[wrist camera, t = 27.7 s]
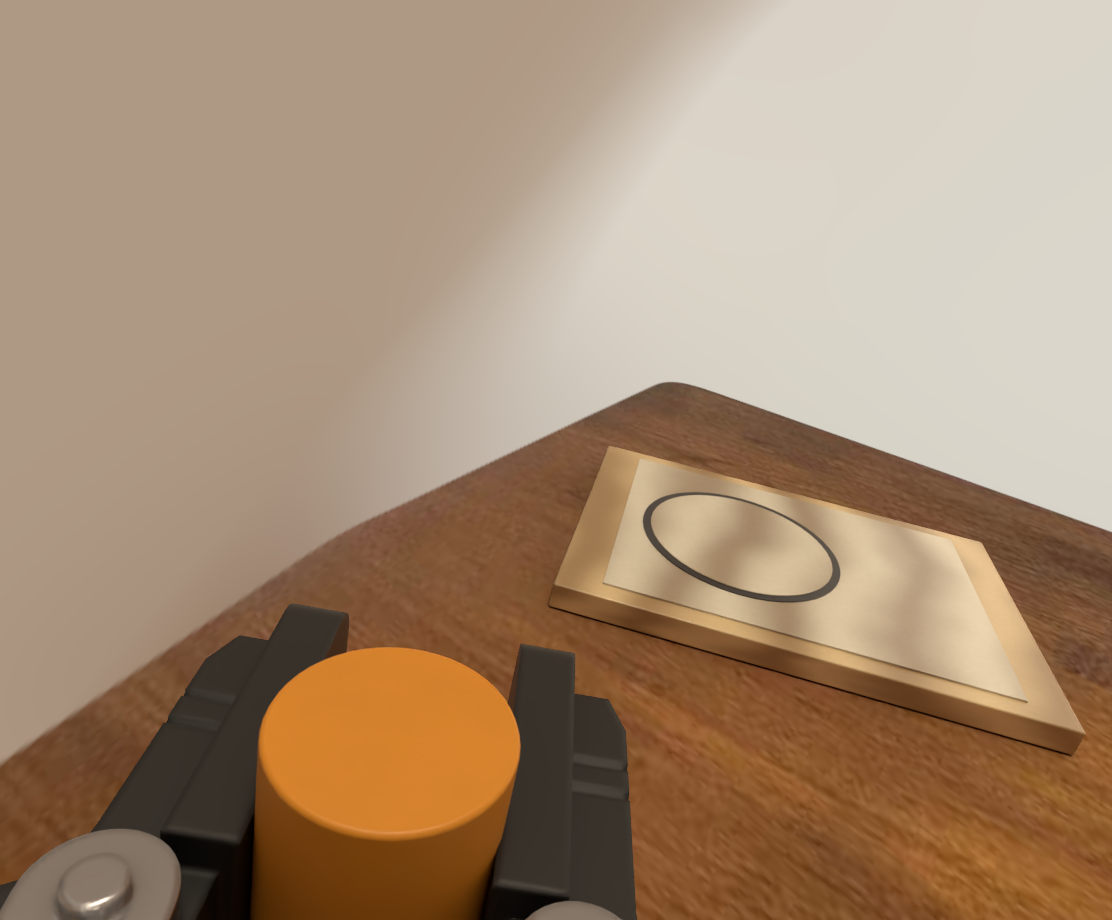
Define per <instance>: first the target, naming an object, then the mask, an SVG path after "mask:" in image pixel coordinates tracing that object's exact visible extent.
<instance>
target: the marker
mask: <svg viewBox="0 0 1112 920" xmlns="http://www.w3.org/2000/svg"><path fill="white" fill-rule="evenodd" d="M520 750H521V743H520V734H519V730H518V726H517V723H516V720H515V717H514V715H513V713H512V711H511V708H510V707H509V705H508V704H507V702H506V700H505V699H504V697H503V696H502V695H501V694H500V693H499V691H498V690H497V689H496V688H495V687H494V686H493V685H492V684H491V683H490V682H488V681H487V680H486V679H485V678H484V677H482V676H481V675H479V674H478V673H477V672H475V671H474V670H472V669H470V668H468V667H467V666H465V665H463V664H461V663H459V662H456V661H454V660H452V659H450V658H447V657H444V656H441V655H438V654H434V653H430V652H426V651H422V650H415V649H409V648H396V647H379V648H368V649H361V650H355V651H350V652H346V653H343V654H339V655H335V656H333V657H330V658H328V659H325V660H322V661H320V662H318V663H316V664H314V665H312V666H310V667H309V668H307V669H305V670H304V671H302V672H301V673H299V674H298V675H296V676H295V677H294V678H293V679H292V680H290V681H289V682H288V683H287V684H286V685H285V686H284V687H283V688H282V689H281V690H280V691H279V692H278V694H277V695H276V697H275V698H274V700H273V701H272V702H271V704H270V705H269V707H268V709H267V711H266V713H265V715H264V717H263V719H262V723H261V727H260V730H259V737H258V751H257V773H256V795H255V817H254V839H253V861H252V883H251V905H250V920H481V919H482V915H483V910H484V906H485V901H486V897H487V892H488V888H489V883H490V879H491V874H492V870H493V865H494V861H495V856H496V852H497V848H498V846H499V843H500V841H501V838H502V834H503V830H504V826H505V822H506V818H507V813H508V809H509V804H510V800H511V795H512V791H513V787H514V782H515V778H516V773H517V769H518V764H519V760H520Z"/></svg>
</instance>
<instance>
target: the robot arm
mask: <svg viewBox="0 0 1112 920" xmlns="http://www.w3.org/2000/svg"><path fill="white" fill-rule="evenodd" d="M348 630H349V615H348V613H344V612H338V611H333V610H327V609H321V608H316V607H310V606H304V605H298V604H290V605H289V606H288V607H287V609H286V610H285V612H284V614H283V615H282V617H281V619H280V621H279V623H278V624H277V626H276V628H275V630H274V631H273V633H272V635H271V637H270V638H269V640H263V639H257V638H251V637H245V636H238V637H237V638H235V639H234V640H232V641H231V642H230V643H228V644H227V645H225V646H224V647H222V648H221V649H220V650H218V651H217V652H215V653H214V654H212V655H211V656H209V657H208V658H207V659H205V661H204V663H203V664H202V666H201V667H200V669H199V670H198V672H197V673H196V675H195V676H194V678H193V679H192V681H191V682H190V684H189V685H188V687H187V688H186V690H185V694H184V696H181V697H180V699H179V700H178V702H177V704H176V705H175V707H174V708H173V710H172V711H171V713H170V714H169V716H168V720H167V722H166V723H163V725H162V726H161V728H160V729H159V731H158V732H157V734H156V735H155V737H154V738H153V740H152V741H151V743H150V745H149V746H148V748H147V749H146V751H145V752H144V754H143V755H142V757H141V758H140V760H139V761H138V763H137V764H136V766H135V767H134V769H133V770H132V772H131V773H130V775H129V776H128V778H127V779H126V781H125V782H124V784H123V786H122V787H121V789H120V790H119V792H118V793H117V795H116V796H115V798H114V799H113V801H112V802H111V804H110V805H109V807H108V808H107V810H106V811H105V813H104V814H103V816H102V817H101V819H100V820H99V822H98V823H97V825H96V826H95V827H94V829H93V830H92V831H91V833H88V834H84V835H81V836H79V837H76V838H74V839H71V840H69V841H67V842H65V843H63V844H61V845H59V846H57V847H55V848H54V849H52V850H51V851H49V852H48V853H46V854H45V855H43V856H42V857H41V858H40V859H38V860H37V861H36V862H35V863H34V864H33V865H31V866H30V867H29V868H28V870H27V871H26V872H25V873H24V874H23V875H22V876H21V877H20V879H19V880H17V881H13V882H10V883H6V884H3V885H0V920H250V905H251V883H252V861H253V839H254V817H255V795H256V773H257V751H258V737H259V730H260V727H261V723H262V719H263V717H264V715H265V713H266V711H267V709H268V707H269V705H270V704H271V702H272V701H273V700H274V698H275V697H276V695H277V694H278V692H279V691H280V690H281V689H282V688H283V687H284V686H285V685H286V684H287V683H288V682H289V681H290V680H292V679H293V678H294V677H295V676H296V675H298V674H299V673H301V672H302V671H304V670H305V669H307V668H309V667H310V666H312V665H314V664H316V663H318V662H320V661H322V660H325V659H328V658H330V657H333V656H335V655H339V654H343V653H346V650H347V640H348ZM574 688H575V654H574V653H571V652H565V651H559V650H554V649H548V648H542V647H537V646H531V645H525V644H521V645H520V648H519V652H518V657H517V661H516V666H515V671H514V676H513V680H512V685H511V690H510V695H509V700H508V705H509V707H510V708H511V711H512V713H513V715H514V717H515V720H516V723H517V726H518V730H519V734H520V743H521V750H520V760H519V764H518V769H517V773H516V778H515V782H514V787H513V791H512V795H511V800H510V804H509V809H508V813H507V818H506V822H505V826H504V830H503V834H502V838H501V841H500V843H499V846H498V848H497V852H496V856H495V861H494V865H493V870H492V874H491V879H490V883H489V888H488V892H487V897H486V901H485V906H484V910H483V915H482V919H481V920H637V915H636V904H635V887H634V869H633V851H632V833H631V816H630V801H628V798H629V780H628V772H627V766H628V763H627V745H626V731H625V729H624V727H623V725H622V724H621V722H620V720H619V718H618V716H617V714H616V713H615V711H614V709H613V707H612V705H611V704H610V702H609V700H608V699H602V698H597V697H591V696H585V695H579V694H574Z"/></svg>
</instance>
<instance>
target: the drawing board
mask: <svg viewBox="0 0 1112 920" xmlns="http://www.w3.org/2000/svg"><path fill="white" fill-rule="evenodd" d="M549 606H551V607H555V608H558V609H562V610H565V611H569V612H572V613H576V614H579V615H583V616H586V617H590V618H593V619H597V620H600V621H604V622H607V623H611V624H614V625H618V626H621V627H625V628H628V629H632V630H635V631H639V632H642V633H646V634H649V635H653V636H656V637H660V638H663V639H667V640H670V641H674V642H677V643H681V644H684V645H688V646H691V647H695V648H698V649H702V650H705V651H709V652H712V653H716V654H719V655H723V656H726V657H730V658H733V659H737V660H741V661H744V662H748V663H751V664H755V665H758V666H762V667H765V668H769V669H772V670H776V671H779V672H783V673H786V674H790V675H793V676H797V677H800V678H804V679H807V680H811V681H814V682H818V683H821V684H825V685H828V686H832V687H835V688H839V689H842V690H846V691H849V692H853V693H856V694H860V695H863V696H867V697H870V698H874V699H877V700H881V701H884V702H888V703H891V704H895V705H898V706H902V707H905V708H909V709H912V710H916V711H919V712H923V713H926V714H930V715H933V716H937V717H940V718H944V719H947V720H951V721H954V722H958V723H961V724H965V725H968V726H972V727H975V728H979V729H982V730H986V731H989V732H993V733H996V734H1000V735H1003V736H1007V737H1010V738H1014V739H1017V740H1021V741H1024V742H1028V743H1031V744H1035V745H1038V746H1042V747H1045V748H1049V749H1052V750H1056V751H1059V752H1063V753H1066V754H1070V755H1073V754H1074V752H1075V751H1076V749H1077V747H1078V746H1079V744H1080V743H1081V741H1082V739H1083V738H1084V736H1085V732H1084V730H1083V728H1082V726H1081V724H1080V722H1079V721H1078V719H1077V717H1076V715H1075V713H1074V711H1073V710H1072V708H1071V706H1070V704H1069V702H1068V700H1067V699H1066V697H1065V695H1064V693H1063V691H1062V689H1061V688H1060V686H1059V684H1058V682H1057V680H1056V678H1055V677H1054V675H1053V673H1052V671H1051V669H1050V667H1049V666H1048V664H1047V662H1046V660H1045V658H1044V656H1043V655H1042V653H1041V651H1040V649H1039V647H1038V645H1037V644H1036V642H1035V640H1034V638H1033V636H1032V634H1031V633H1030V631H1029V629H1028V627H1027V625H1026V623H1025V622H1024V620H1023V618H1022V616H1021V614H1020V612H1019V611H1018V609H1017V607H1016V605H1015V603H1014V601H1013V600H1012V598H1011V596H1010V594H1009V592H1008V590H1007V589H1006V587H1005V585H1004V583H1003V581H1002V579H1001V578H1000V576H999V574H998V572H997V570H996V568H995V567H994V565H993V563H992V561H991V559H990V557H989V556H988V554H987V552H986V550H985V548H984V546H983V545H982V543H981V542H977V541H973V540H970V539H966V538H962V537H958V536H954V535H950V534H947V533H943V532H939V531H935V530H931V529H927V528H924V527H920V526H916V525H912V524H908V523H904V522H900V521H897V520H893V519H889V518H885V517H881V516H877V515H874V514H870V513H866V512H862V511H858V510H854V509H851V508H847V507H843V506H839V505H835V504H831V503H828V502H824V501H820V500H816V499H812V498H808V497H805V496H801V495H797V494H793V493H789V492H785V491H782V490H778V489H774V488H770V487H766V486H762V485H759V484H755V483H751V482H747V481H743V480H739V479H736V478H732V477H728V476H724V475H720V474H716V473H712V472H709V471H705V470H701V469H697V468H693V467H689V466H686V465H682V464H678V463H674V462H670V461H666V460H663V459H659V458H655V457H651V456H647V455H643V454H640V453H636V452H632V451H628V450H624V449H620V448H617V447H613V446H609V447H608V449H607V452H606V454H605V457H604V459H603V462H602V464H601V467H600V469H599V472H598V474H597V477H596V479H595V482H594V484H593V487H592V489H591V492H590V494H589V497H588V499H587V502H586V504H585V507H584V509H583V512H582V514H581V517H580V519H579V522H578V524H577V527H576V529H575V532H574V534H573V537H572V539H571V542H570V544H569V547H568V549H567V552H566V554H565V557H564V559H563V562H562V564H561V567H560V569H559V572H558V574H557V577H556V579H555V582H554V584H553V589H552V593H551V598H550V602H549Z"/></svg>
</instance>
